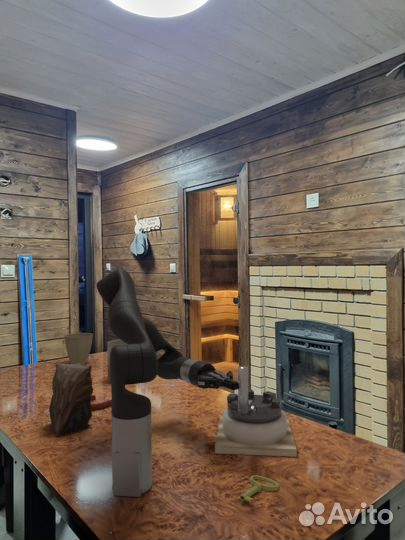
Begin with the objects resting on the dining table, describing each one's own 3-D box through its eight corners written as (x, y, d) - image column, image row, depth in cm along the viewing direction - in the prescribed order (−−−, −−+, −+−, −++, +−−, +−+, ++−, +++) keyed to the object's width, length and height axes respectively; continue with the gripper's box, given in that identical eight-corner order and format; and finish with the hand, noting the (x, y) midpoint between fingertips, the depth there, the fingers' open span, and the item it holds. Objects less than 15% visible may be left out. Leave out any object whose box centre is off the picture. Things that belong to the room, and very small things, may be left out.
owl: (48, 423, 131) (47, 363, 131) (87, 416, 137) (86, 358, 137) (54, 437, 120) (53, 371, 120) (96, 428, 126) (95, 366, 126)
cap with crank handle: (291, 411, 119) (291, 356, 119) (252, 433, 103) (252, 370, 103) (247, 400, 130) (247, 349, 130) (206, 418, 114) (205, 361, 114)
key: (238, 506, 85) (238, 496, 85) (251, 477, 97) (251, 469, 97) (272, 513, 83) (272, 503, 83) (281, 483, 94) (281, 474, 94)
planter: (139, 382, 177) (138, 343, 177) (110, 386, 172) (109, 345, 172) (133, 375, 189) (132, 338, 189) (105, 378, 184) (105, 340, 184)
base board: (296, 456, 106) (296, 449, 106) (215, 453, 109) (214, 446, 109) (288, 424, 128) (288, 418, 128) (220, 422, 131) (220, 416, 131)
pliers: (45, 417, 137) (45, 409, 137) (93, 400, 155) (93, 393, 155) (67, 425, 131) (67, 417, 131) (115, 406, 148) (114, 399, 148)
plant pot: (96, 365, 210) (96, 335, 210) (68, 369, 202) (67, 338, 202) (88, 360, 222) (88, 331, 222) (61, 363, 215) (61, 334, 214)
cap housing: (290, 446, 108) (290, 428, 108) (220, 443, 110) (220, 425, 110) (283, 419, 127) (283, 404, 127) (224, 418, 129) (224, 402, 129)
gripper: (179, 364, 116) (217, 376, 103) (214, 357, 124) (253, 368, 111) (179, 389, 116) (217, 405, 103) (214, 381, 125) (253, 395, 111)
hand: (236, 386), depth 107 cm, fingers closed
